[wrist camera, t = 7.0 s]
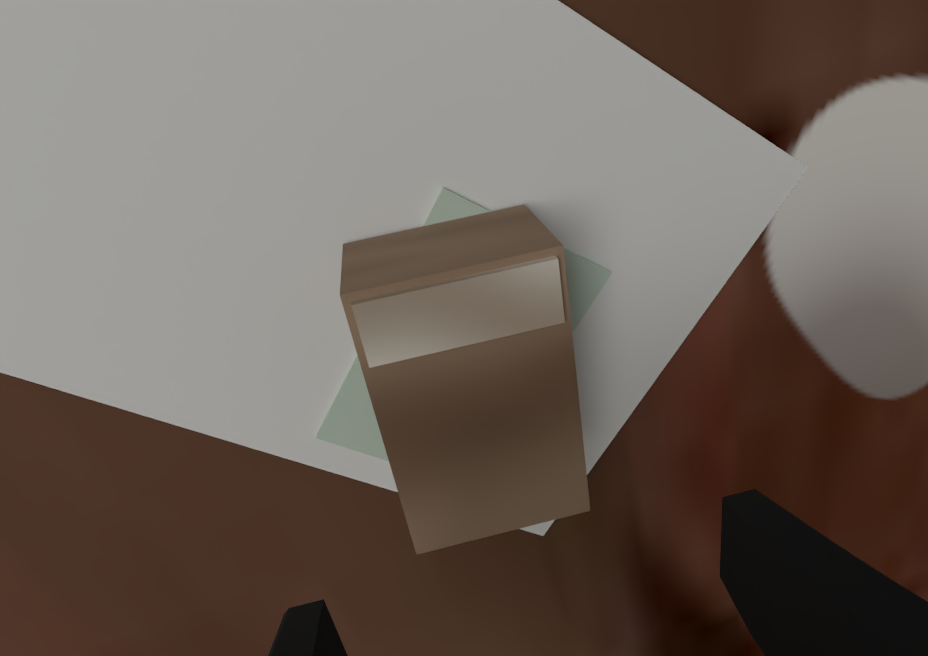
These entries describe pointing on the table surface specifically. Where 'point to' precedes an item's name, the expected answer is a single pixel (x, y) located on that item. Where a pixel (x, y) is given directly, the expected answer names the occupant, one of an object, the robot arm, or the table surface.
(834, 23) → the table surface
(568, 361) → the brown rectangular block
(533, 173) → the grey mat
